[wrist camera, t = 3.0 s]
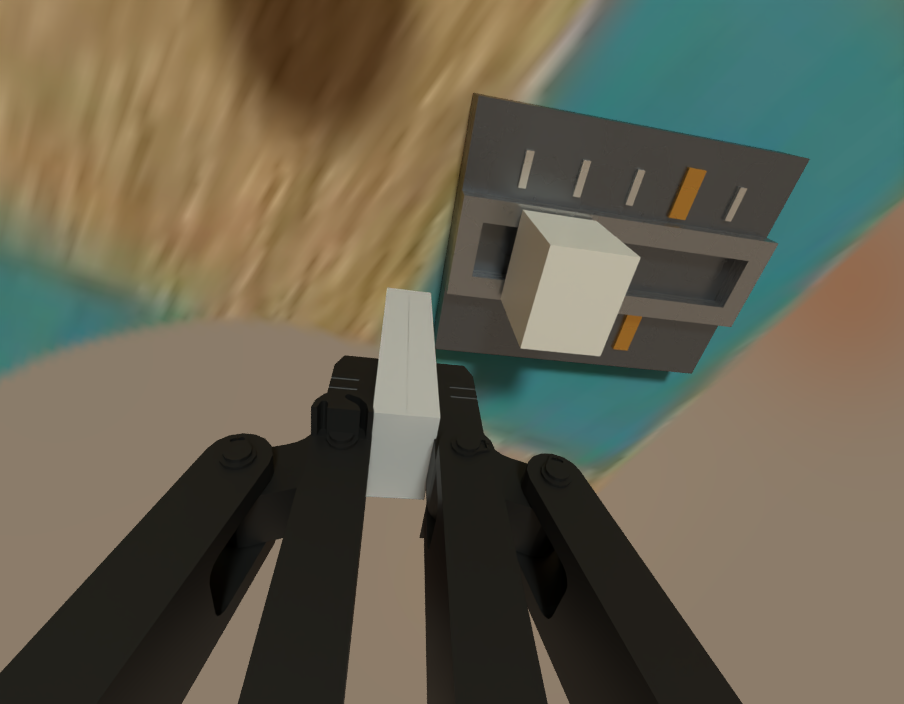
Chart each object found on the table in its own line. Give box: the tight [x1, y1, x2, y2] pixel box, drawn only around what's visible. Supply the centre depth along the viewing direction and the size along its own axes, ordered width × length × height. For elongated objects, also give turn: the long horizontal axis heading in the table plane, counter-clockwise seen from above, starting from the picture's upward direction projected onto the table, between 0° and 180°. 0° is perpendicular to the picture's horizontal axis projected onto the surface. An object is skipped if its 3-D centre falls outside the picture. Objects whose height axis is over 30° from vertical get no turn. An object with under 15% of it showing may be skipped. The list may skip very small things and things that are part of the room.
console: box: [434, 93, 809, 374], centre depth 26 cm, size 18×14×3 cm
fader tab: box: [501, 210, 641, 356], centre depth 22 cm, size 4×5×6 cm
